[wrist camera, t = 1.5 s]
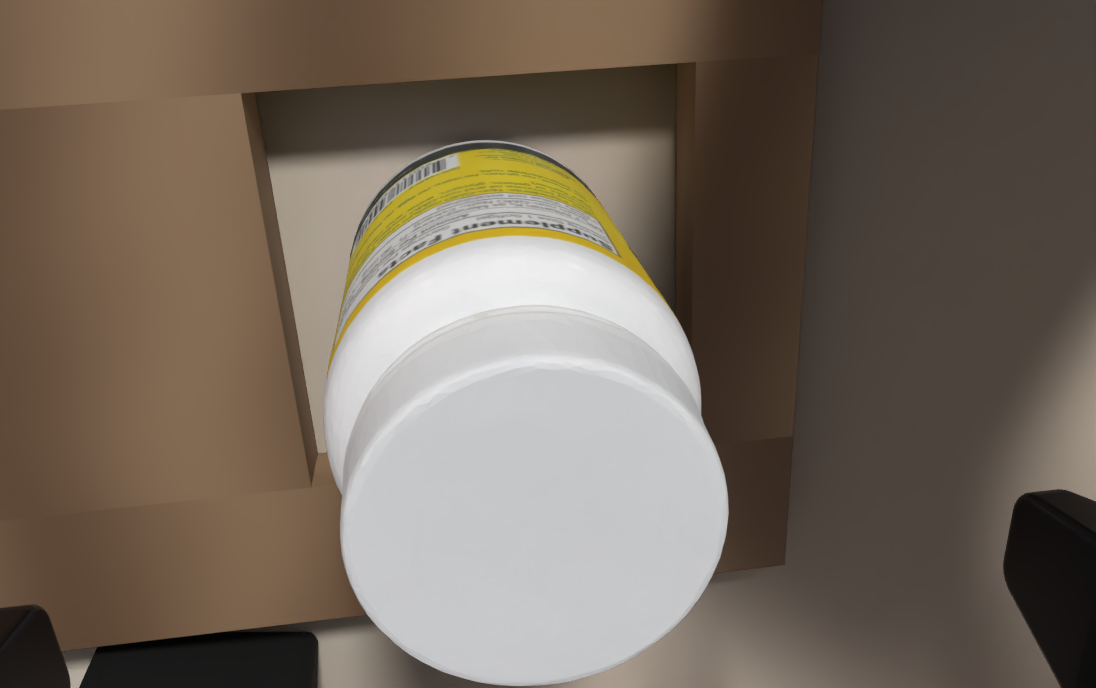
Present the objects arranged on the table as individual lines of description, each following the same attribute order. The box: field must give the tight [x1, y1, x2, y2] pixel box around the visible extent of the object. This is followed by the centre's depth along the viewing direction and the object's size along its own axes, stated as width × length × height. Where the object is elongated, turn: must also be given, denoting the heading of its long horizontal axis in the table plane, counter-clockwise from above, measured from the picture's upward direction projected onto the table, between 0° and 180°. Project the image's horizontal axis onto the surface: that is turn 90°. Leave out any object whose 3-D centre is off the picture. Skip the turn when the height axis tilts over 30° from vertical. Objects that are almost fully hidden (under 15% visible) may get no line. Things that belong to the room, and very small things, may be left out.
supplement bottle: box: [323, 140, 729, 686], centre depth 13 cm, size 5×5×8 cm
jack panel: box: [0, 0, 823, 651], centre depth 16 cm, size 26×13×1 cm, turn 93°
